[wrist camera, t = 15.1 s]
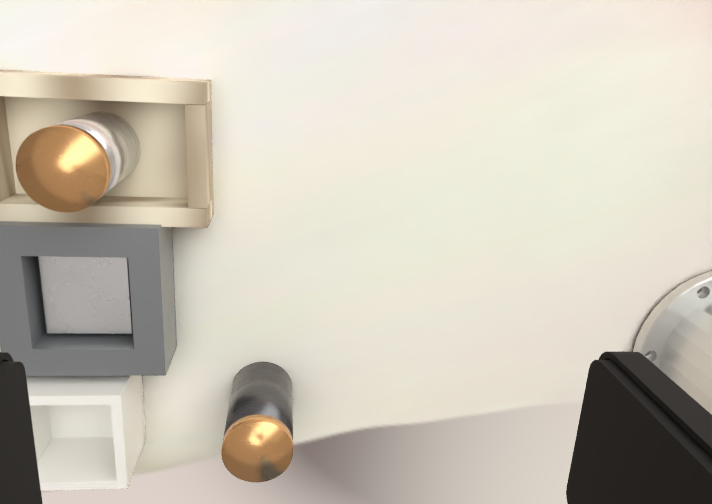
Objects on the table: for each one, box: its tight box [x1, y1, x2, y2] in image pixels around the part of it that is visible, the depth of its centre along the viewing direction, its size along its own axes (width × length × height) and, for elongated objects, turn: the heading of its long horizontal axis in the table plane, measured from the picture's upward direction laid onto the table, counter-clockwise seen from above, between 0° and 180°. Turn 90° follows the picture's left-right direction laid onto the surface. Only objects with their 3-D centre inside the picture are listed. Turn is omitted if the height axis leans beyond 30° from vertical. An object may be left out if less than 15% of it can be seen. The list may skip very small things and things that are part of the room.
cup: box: [26, 375, 146, 491], centre depth 38 cm, size 6×6×5 cm
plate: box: [38, 256, 133, 334], centre depth 36 cm, size 5×5×1 cm
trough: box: [0, 70, 213, 228], centre depth 34 cm, size 12×8×3 cm, turn 87°
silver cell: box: [15, 111, 141, 213], centre depth 32 cm, size 4×4×7 cm
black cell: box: [222, 362, 293, 482], centre depth 38 cm, size 4×4×7 cm
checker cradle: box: [0, 221, 177, 376], centre depth 36 cm, size 9×9×4 cm
